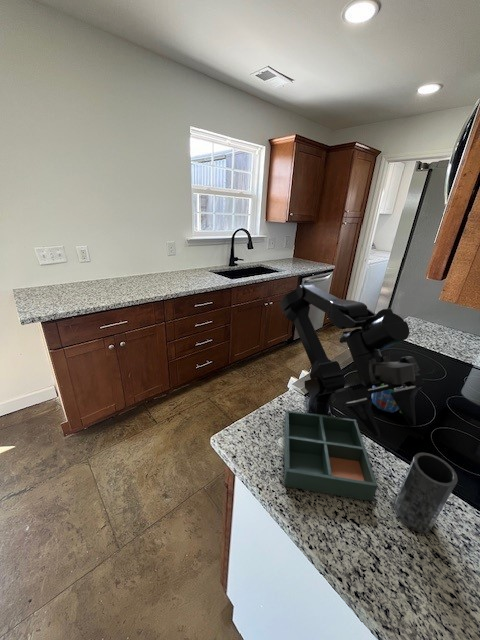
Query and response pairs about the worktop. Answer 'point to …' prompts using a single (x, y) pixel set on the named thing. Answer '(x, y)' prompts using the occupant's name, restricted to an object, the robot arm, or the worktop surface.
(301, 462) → the divided compartment tray
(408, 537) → the worktop surface
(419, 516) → the grey tumbler
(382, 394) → the snack cup
